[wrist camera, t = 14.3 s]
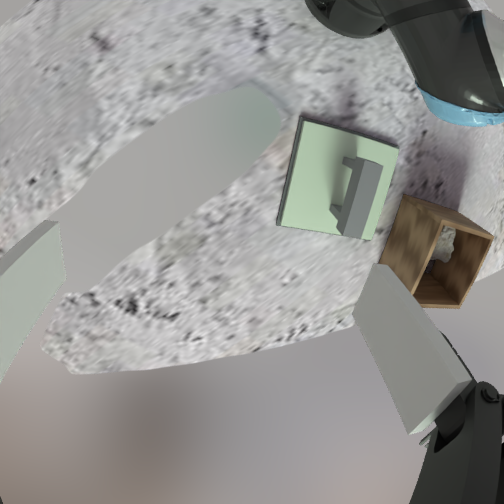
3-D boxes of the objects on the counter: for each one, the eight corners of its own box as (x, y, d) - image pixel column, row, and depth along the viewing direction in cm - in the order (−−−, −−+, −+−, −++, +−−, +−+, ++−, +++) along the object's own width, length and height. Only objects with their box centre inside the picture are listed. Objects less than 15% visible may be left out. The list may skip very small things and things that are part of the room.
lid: (303, 120, 40) (320, 124, 32) (396, 148, 42) (426, 159, 34) (280, 223, 48) (290, 248, 40) (369, 238, 50) (391, 262, 42)
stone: (412, 255, 53) (426, 269, 48) (420, 209, 49) (437, 220, 43) (440, 252, 54) (455, 265, 48) (449, 209, 49) (466, 220, 44)
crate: (403, 193, 47) (442, 219, 36) (457, 211, 49) (494, 236, 38) (375, 269, 54) (403, 306, 43) (430, 276, 56) (459, 308, 46)
